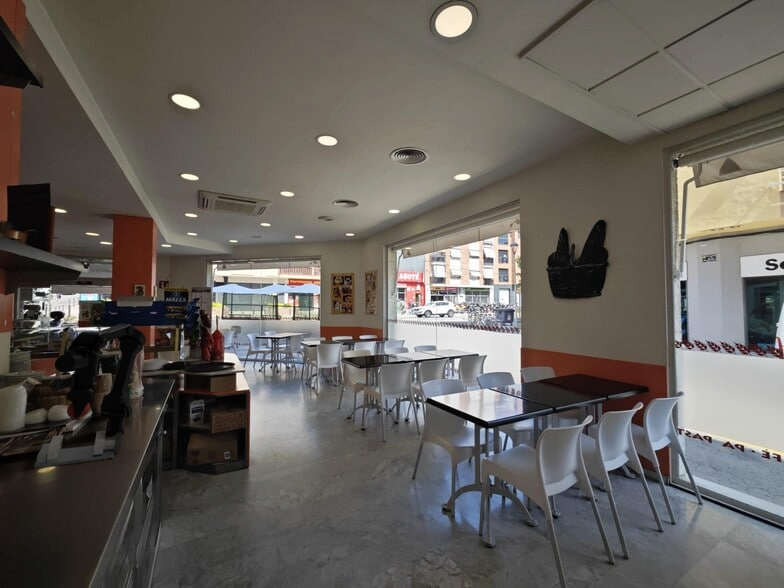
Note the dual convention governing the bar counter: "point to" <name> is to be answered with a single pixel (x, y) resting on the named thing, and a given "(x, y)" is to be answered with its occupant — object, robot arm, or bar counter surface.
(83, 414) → the onion
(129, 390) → the coffee jar
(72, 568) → the bar counter surface
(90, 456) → the vise base
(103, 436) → the sliding jaw
